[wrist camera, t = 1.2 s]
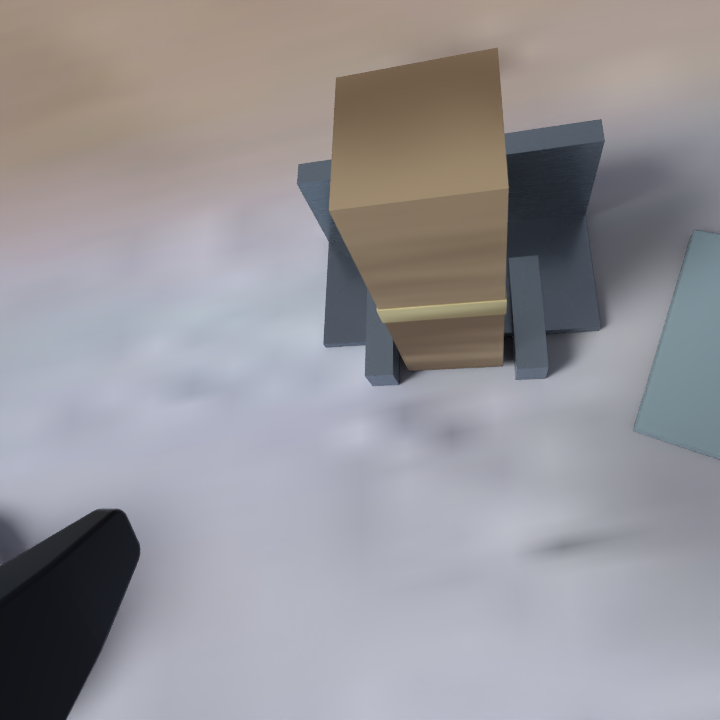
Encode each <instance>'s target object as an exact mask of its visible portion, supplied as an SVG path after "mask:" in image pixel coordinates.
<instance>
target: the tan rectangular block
mask: <svg viewBox="0 0 720 720" xmlns="http://www.w3.org/2000/svg"><path fill="white" fill-rule="evenodd" d="M508 194H509V186H508V173H507V161H506V148H505V135H504V123H503V110H502V97H501V85H500V72H499V60H498V48H494V49H488V50H483V51H477V52H472V53H467V54H461V55H456V56H451V57H445V58H440V59H435V60H429V61H424V62H418V63H413V64H408V65H402V66H397V67H392V68H386V69H381V70H376V71H370V72H365V73H360V74H354V75H349V76H343V77H338V78H336V89H335V108H334V126H333V144H332V162H331V180H330V199H329V212H330V214H331V216H332V218H333V220H334V222H335V224H336V226H337V228H338V230H339V232H340V234H341V236H342V238H343V240H344V242H345V244H346V246H347V248H348V250H349V252H350V254H351V256H352V258H353V260H354V262H355V264H356V266H357V268H358V270H359V272H360V274H361V276H362V278H363V280H364V282H365V284H366V286H367V288H368V290H369V292H370V294H371V296H372V298H373V300H374V302H375V304H376V306H377V313H378V315H379V317H380V319H381V321H382V323H385V324H386V326H387V328H388V330H389V332H390V334H391V336H392V338H393V340H394V342H395V344H396V346H397V348H398V350H399V352H400V354H401V356H402V358H403V360H404V362H405V364H406V366H407V368H408V370H409V371H416V370H436V369H456V368H476V367H497V366H503V345H504V315H505V314H506V308H507V297H506V254H507V224H508Z"/></svg>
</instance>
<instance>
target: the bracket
mask: <svg viewBox="0 0 720 720" xmlns="http://www.w3.org/2000/svg"><path fill="white" fill-rule="evenodd" d="M504 135H505V148H506V161H507V173H508V186H509V194H508V224H507V254H506V297H507V308H506V314H505V315H504V336H512V337H513V350H514V364H515V377H516V380H522V379H545V378H546V375H547V372H548V368H549V364H548V354H547V344H546V334H551V333H567V332H583V331H599V329H600V327H601V326H600V318H599V311H598V303H597V296H596V289H595V281H594V274H593V266H592V259H591V251H590V244H589V236H588V229H587V221H586V214H585V213H586V210H587V206H588V202H589V198H590V194H591V191H592V187H593V183H594V179H595V176H596V172H597V168H598V164H599V161H600V157H601V153H602V149H603V145H604V142H605V139H604V133H603V127H602V120H601V119H600V120H593V121H586V122H580V123H573V124H566V125H560V126H553V127H546V128H539V129H533V130H526V131H519V132H513V133H506V134H504ZM331 162H332V160H325V161H318V162H311V163H305V164H299V166H298V179H297V185H298V186H299V188H300V190H301V192H302V194H303V196H304V197H305V199H306V201H307V203H308V205H309V206H310V208H311V210H312V212H313V214H314V216H315V217H316V219H317V221H318V223H319V225H320V227H321V228H322V230H323V232H324V234H325V236H326V237H327V239H328V241H329V251H328V270H327V289H326V307H325V326H324V346H325V347H341V346H358V345H366V357H365V377H366V378H367V379H368V381H369V382H370V383H371V384H372V386H383V385H399V350H398V348H397V346H396V344H395V342H394V340H393V338H392V336H391V334H390V332H389V330H388V328H387V326H386V324H385V323H382V321H381V319H380V317H379V315H378V313H377V306H376V304H375V302H374V300H373V298H372V296H371V294H370V292H369V290H368V288H367V286H366V284H365V282H364V280H363V278H362V276H361V274H360V272H359V270H358V268H357V266H356V264H355V262H354V260H353V258H352V256H351V254H350V252H349V250H348V248H347V246H346V244H345V242H344V240H343V238H342V236H341V234H340V232H339V230H338V228H337V226H336V224H335V222H334V220H333V218H332V216H331V214H330V212H329V199H330V180H331Z"/></svg>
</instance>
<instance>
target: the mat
mask: <svg viewBox="0 0 720 720" xmlns="http://www.w3.org/2000/svg"><path fill="white" fill-rule="evenodd" d="M633 431H635V432H638V433H641V434H644V435H647V436H650V437H653V438H656V439H659V440H662V441H665V442H668V443H671V444H674V445H677V446H680V447H683V448H687V449H690V450H693V451H696V452H699V453H702V454H705V455H708V456H711V457H714V458H717V459H720V235H719V234H714V233H709V232H704V231H698V230H694V232H693V234H692V235H691V237H690V241H689V244H688V248H687V251H686V254H685V258H684V261H683V264H682V268H681V271H680V274H679V278H678V281H677V284H676V288H675V291H674V295H673V298H672V301H671V305H670V308H669V311H668V315H667V318H666V321H665V325H664V328H663V331H662V335H661V338H660V341H659V345H658V348H657V352H656V355H655V358H654V362H653V365H652V368H651V372H650V375H649V378H648V382H647V385H646V388H645V392H644V395H643V398H642V402H641V405H640V409H639V412H638V415H637V419H636V422H635V425H634V429H633Z"/></svg>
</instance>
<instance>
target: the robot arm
mask: <svg viewBox="0 0 720 720" xmlns="http://www.w3.org/2000/svg"><path fill="white" fill-rule="evenodd" d="M139 557H140V544H139V541H138V539H137V537H136V535H135V533H134V531H133V528H132V526H131V524H130V522H129V520H128V517H127V515H126V514H125V512H123V511H122V510H120V509H97V510H95V511H93V512H91V513H89V514H88V515H86V516H84V517H83V518H81V519H79V520H78V521H76V522H74V523H73V524H71V525H69V526H67V527H66V528H64V529H62V530H61V531H59V532H57V533H56V534H54V535H52V536H51V537H49V538H47V539H46V540H44V541H42V542H40V543H39V544H37V545H35V546H34V547H32V548H30V549H29V550H27V551H25V552H24V553H22V554H20V555H18V556H17V557H15V558H13V559H12V560H10V561H8V562H7V563H5V564H3V565H2V566H0V720H66V719H67V717H68V715H69V713H70V712H71V710H72V708H73V706H74V704H75V702H76V700H77V698H78V696H79V694H80V692H81V690H82V688H83V686H84V684H85V682H86V680H87V678H88V676H89V674H90V672H91V671H92V669H93V667H94V665H95V663H96V661H97V658H98V656H99V654H100V652H101V650H102V648H103V646H104V643H105V641H106V639H107V636H108V634H109V632H110V629H111V627H112V624H113V622H114V619H115V617H116V615H117V612H118V610H119V607H120V605H121V602H122V600H123V597H124V595H125V592H126V590H127V588H128V585H129V583H130V580H131V578H132V575H133V573H134V570H135V568H136V565H137V563H138V560H139Z"/></svg>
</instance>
